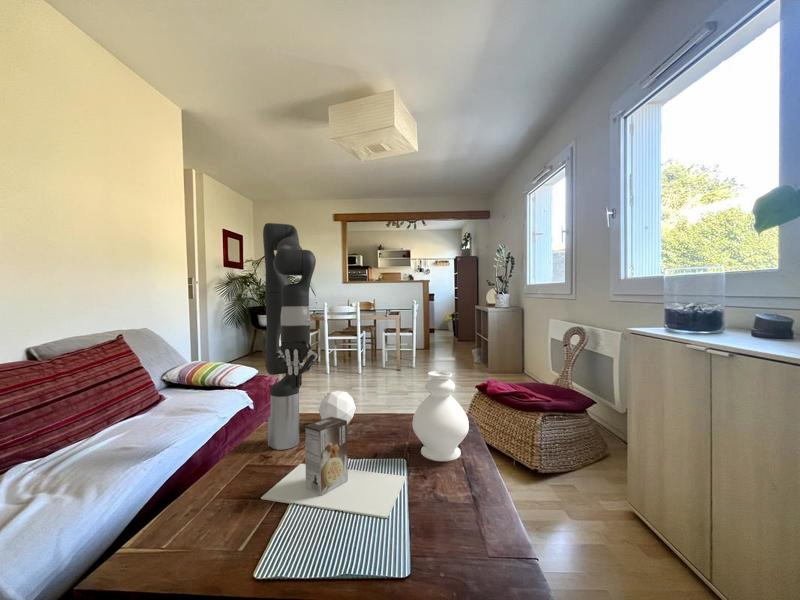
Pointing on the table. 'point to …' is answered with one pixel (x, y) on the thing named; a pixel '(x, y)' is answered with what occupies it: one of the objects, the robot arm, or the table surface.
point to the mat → (342, 492)
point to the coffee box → (326, 455)
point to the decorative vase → (440, 419)
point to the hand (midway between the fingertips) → (295, 388)
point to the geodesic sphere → (337, 406)
